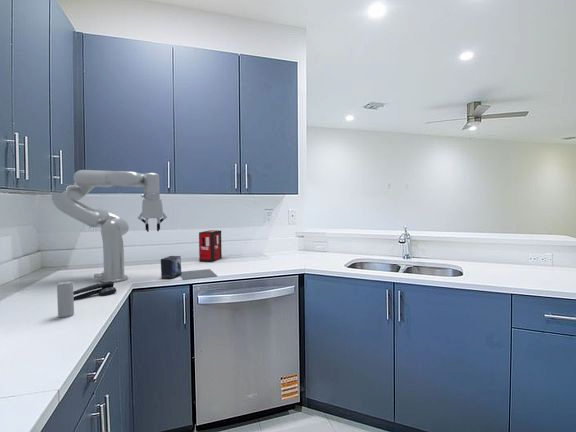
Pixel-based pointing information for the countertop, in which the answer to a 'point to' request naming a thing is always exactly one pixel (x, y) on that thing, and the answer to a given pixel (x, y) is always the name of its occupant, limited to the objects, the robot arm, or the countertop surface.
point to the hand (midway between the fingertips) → (152, 231)
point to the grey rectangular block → (65, 299)
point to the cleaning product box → (210, 246)
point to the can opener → (105, 290)
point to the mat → (197, 274)
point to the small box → (170, 267)
